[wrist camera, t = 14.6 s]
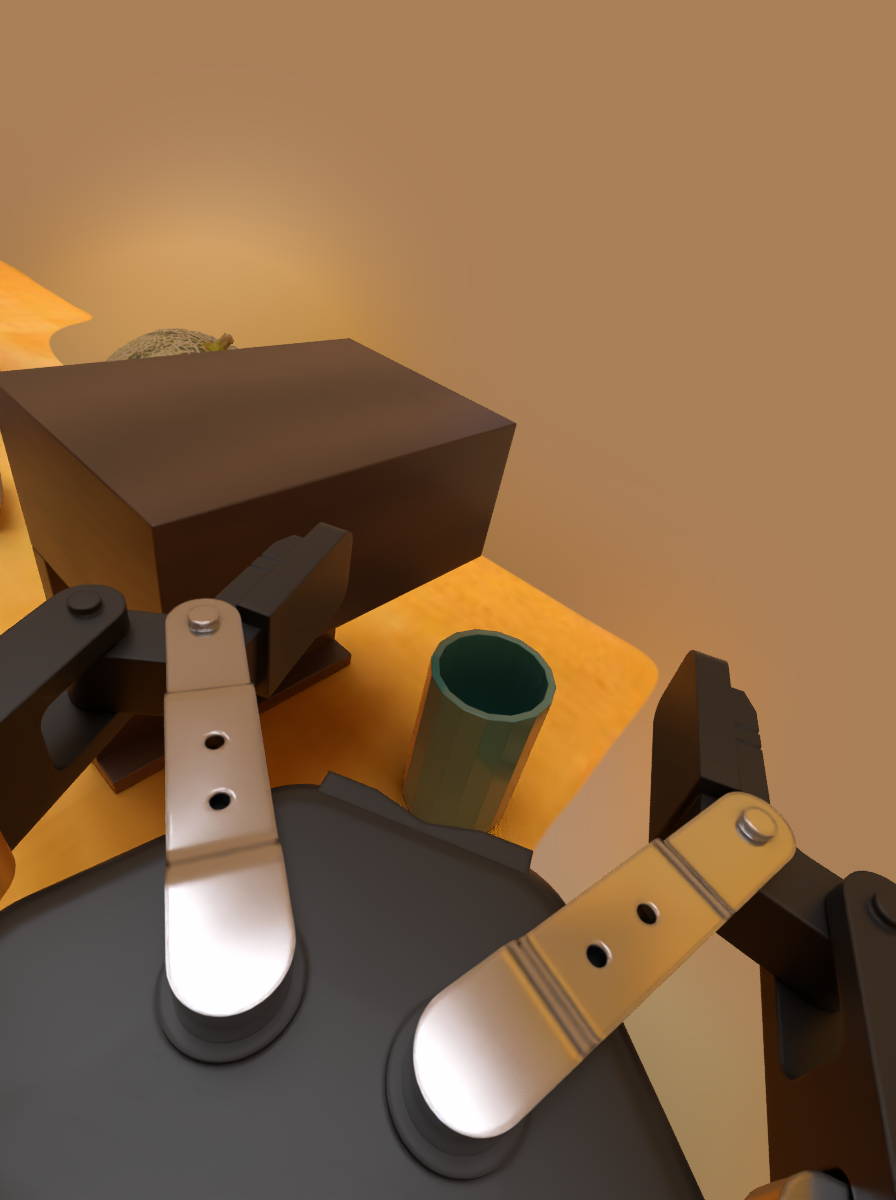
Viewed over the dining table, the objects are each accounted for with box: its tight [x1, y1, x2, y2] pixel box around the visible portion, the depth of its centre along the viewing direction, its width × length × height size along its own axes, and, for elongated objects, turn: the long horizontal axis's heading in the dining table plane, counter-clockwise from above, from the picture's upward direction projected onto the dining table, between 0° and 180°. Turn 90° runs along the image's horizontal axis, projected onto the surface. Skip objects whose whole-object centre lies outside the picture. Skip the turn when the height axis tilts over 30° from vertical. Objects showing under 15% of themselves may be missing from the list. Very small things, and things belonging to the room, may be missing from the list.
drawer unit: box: [0, 338, 516, 794], centre depth 30 cm, size 11×18×21 cm, turn 138°
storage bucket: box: [402, 629, 556, 832], centre depth 33 cm, size 6×6×10 cm
